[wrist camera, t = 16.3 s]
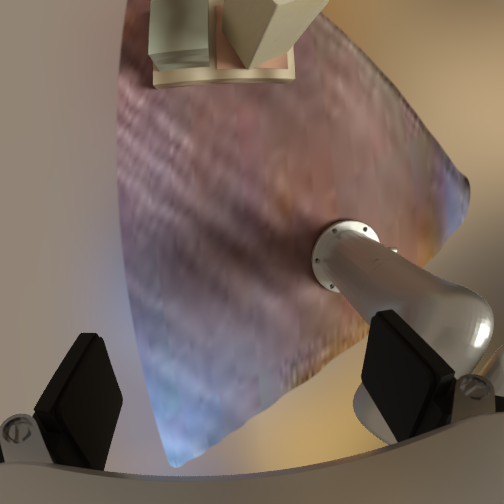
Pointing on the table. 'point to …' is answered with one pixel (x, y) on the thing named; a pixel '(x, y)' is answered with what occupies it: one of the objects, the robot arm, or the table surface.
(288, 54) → the board
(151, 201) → the table surface
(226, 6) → the toy refrigerator
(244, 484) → the robot arm
